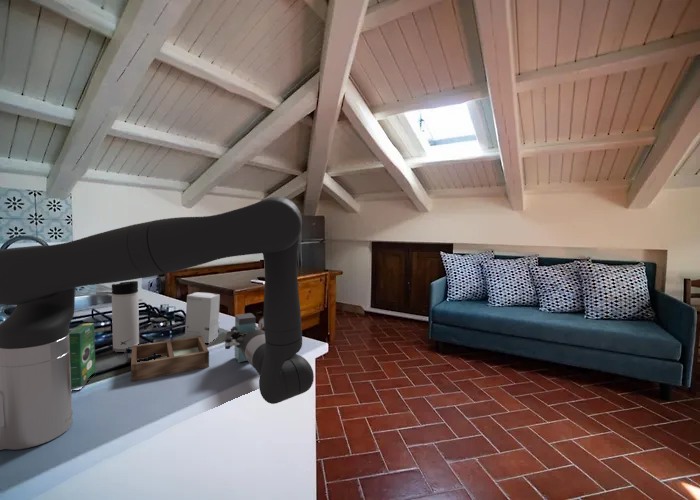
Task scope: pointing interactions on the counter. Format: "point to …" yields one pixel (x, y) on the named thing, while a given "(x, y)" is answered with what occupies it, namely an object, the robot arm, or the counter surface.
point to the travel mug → (125, 315)
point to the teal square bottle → (247, 325)
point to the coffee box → (82, 353)
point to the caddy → (169, 357)
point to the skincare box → (202, 316)
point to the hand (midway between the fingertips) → (242, 328)
